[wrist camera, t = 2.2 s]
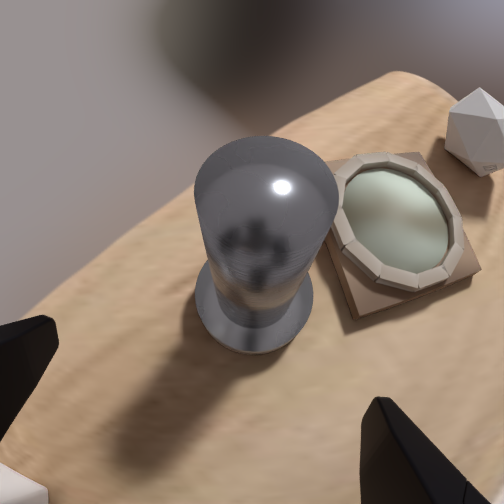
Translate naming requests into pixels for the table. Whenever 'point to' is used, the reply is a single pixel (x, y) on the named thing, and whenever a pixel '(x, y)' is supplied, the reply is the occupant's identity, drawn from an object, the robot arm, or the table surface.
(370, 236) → the board
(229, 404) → the table surface
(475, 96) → the die
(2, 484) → the medicine bottle
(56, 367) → the table surface
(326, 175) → the silver round peg
